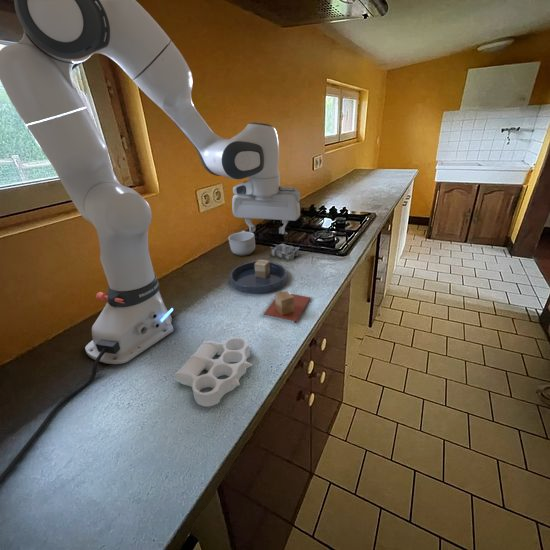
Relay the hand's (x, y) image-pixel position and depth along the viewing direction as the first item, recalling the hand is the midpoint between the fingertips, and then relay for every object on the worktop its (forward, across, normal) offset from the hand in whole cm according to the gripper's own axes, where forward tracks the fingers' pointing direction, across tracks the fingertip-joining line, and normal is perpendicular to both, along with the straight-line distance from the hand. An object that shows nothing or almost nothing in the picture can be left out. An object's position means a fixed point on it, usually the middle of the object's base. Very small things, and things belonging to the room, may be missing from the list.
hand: (267, 232), depth 92 cm
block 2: (+19, -9, +13) cm, 24 cm away
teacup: (+20, +20, -26) cm, 38 cm away
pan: (+19, +5, -3) cm, 20 cm away
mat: (+19, -9, +10) cm, 24 cm away
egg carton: (+20, +2, -26) cm, 33 cm away
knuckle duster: (+19, 0, +39) cm, 44 cm away
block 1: (+19, +5, -7) cm, 21 cm away
